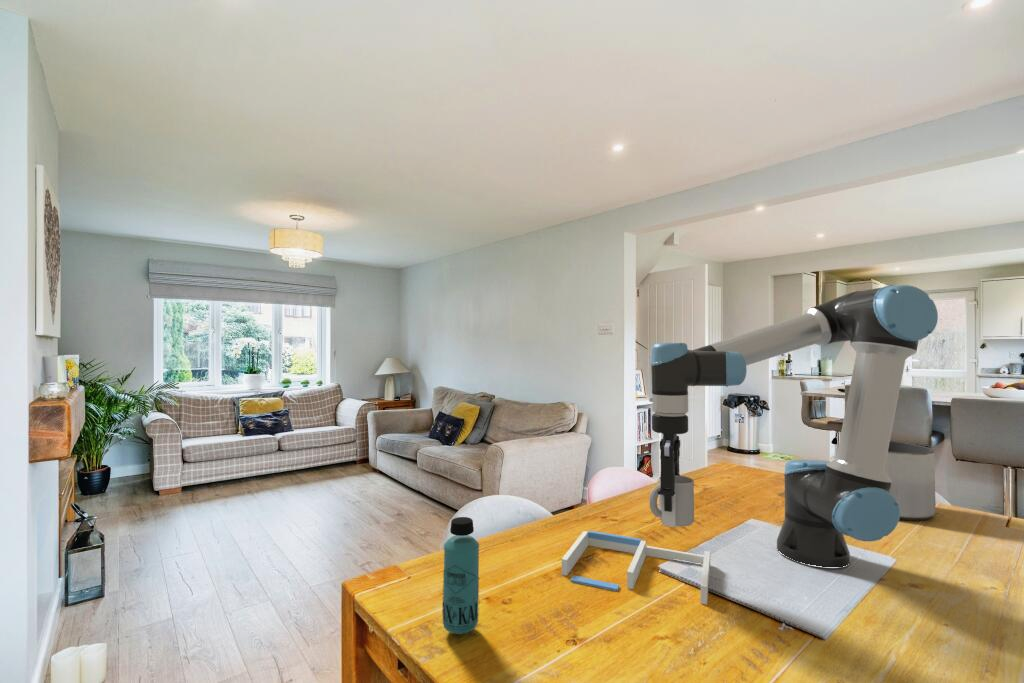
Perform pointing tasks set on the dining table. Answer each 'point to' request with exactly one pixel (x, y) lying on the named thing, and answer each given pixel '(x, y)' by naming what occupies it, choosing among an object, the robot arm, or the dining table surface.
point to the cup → (677, 500)
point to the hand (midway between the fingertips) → (670, 518)
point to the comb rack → (634, 569)
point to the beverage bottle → (461, 578)
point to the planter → (912, 479)
